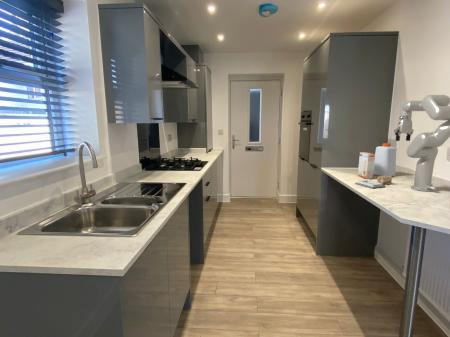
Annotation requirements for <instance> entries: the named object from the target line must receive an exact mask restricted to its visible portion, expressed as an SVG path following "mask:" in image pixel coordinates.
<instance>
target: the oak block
mask: <svg viewBox="0 0 450 337" xmlns="http://www.w3.org/2000/svg"><path fill="white" fill-rule="evenodd" d="M376 179H377V180H376V182H377V183H381V184H383V185H384V186H387V185H388V186H391V185H392V180H393V176H377V178H376Z"/></svg>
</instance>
